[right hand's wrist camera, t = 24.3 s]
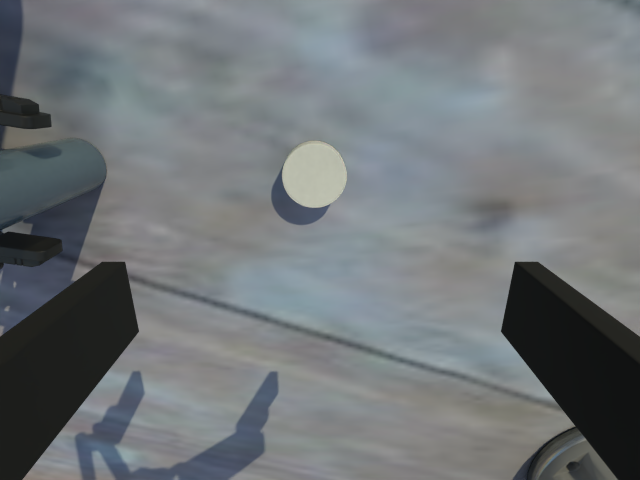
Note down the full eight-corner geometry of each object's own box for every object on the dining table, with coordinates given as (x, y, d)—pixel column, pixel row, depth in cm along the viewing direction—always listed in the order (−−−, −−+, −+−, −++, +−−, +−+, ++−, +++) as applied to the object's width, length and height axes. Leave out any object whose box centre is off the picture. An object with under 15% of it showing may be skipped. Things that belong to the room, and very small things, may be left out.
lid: (296, 209, 31) (294, 216, 29) (274, 152, 29) (272, 156, 27) (352, 191, 30) (354, 196, 28) (334, 132, 28) (335, 134, 27)
